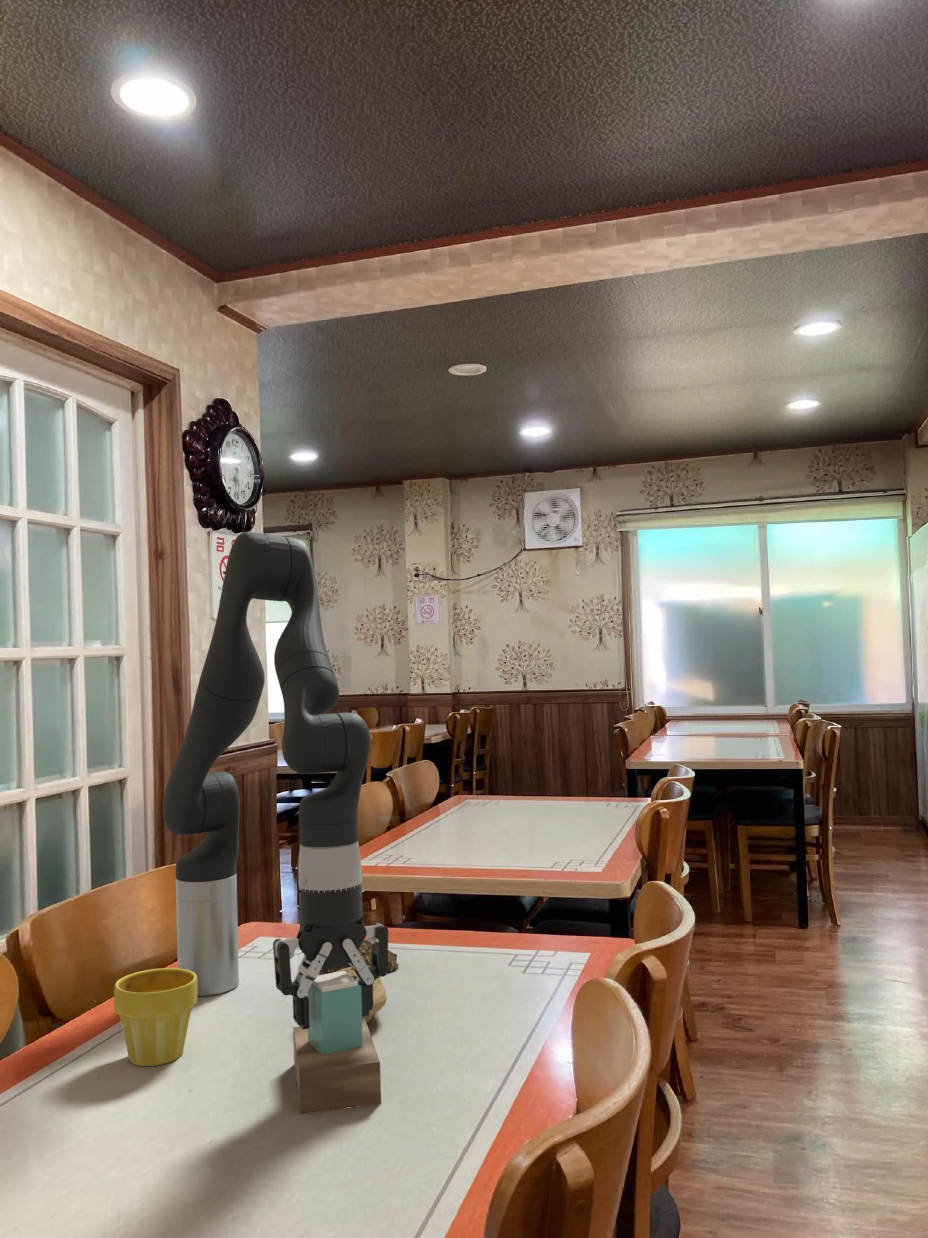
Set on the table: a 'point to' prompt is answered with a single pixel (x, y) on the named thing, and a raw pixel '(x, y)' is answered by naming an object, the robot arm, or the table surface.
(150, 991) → the plant pot
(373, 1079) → the brown rectangular block
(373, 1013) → the oil lamp
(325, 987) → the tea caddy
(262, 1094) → the table surface
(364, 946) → the bread roll
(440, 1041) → the table surface
